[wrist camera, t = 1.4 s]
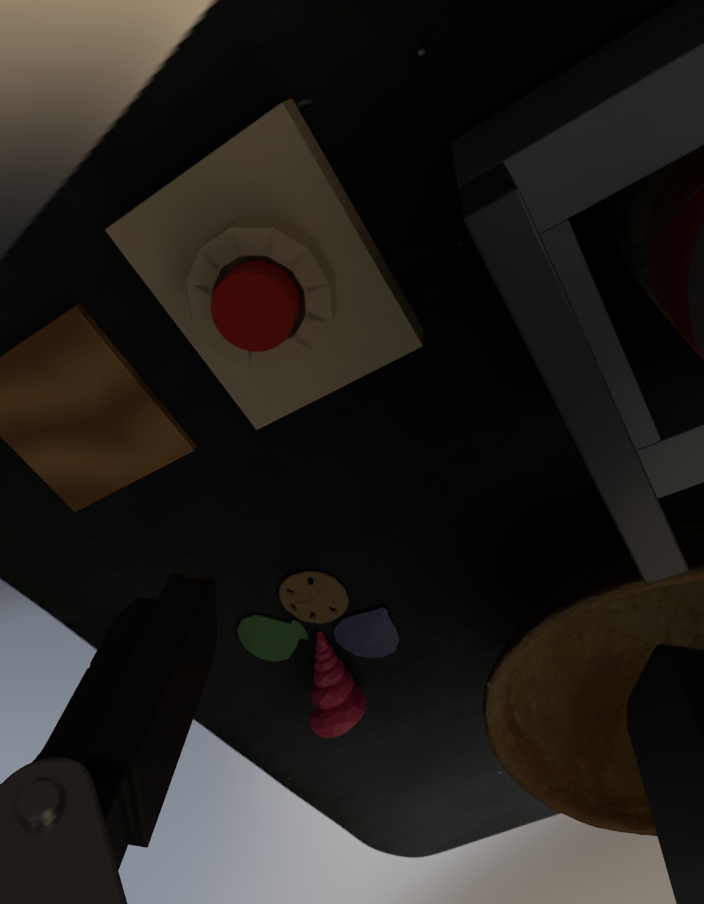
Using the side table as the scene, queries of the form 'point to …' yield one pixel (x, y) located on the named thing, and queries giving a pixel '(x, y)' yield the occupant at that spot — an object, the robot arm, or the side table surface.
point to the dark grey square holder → (568, 276)
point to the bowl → (590, 683)
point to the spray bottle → (664, 240)
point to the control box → (279, 242)
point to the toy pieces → (323, 645)
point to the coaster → (83, 412)
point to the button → (255, 305)
